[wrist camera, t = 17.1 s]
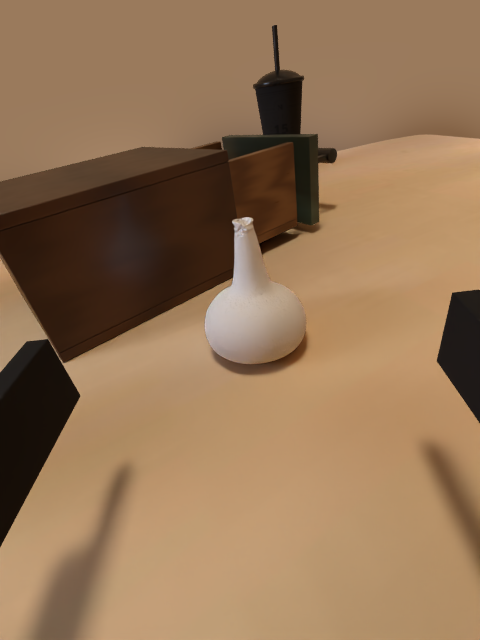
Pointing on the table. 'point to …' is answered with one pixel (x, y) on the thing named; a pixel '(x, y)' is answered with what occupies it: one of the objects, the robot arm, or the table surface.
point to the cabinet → (117, 239)
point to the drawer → (275, 179)
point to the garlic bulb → (253, 308)
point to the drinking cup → (279, 98)
